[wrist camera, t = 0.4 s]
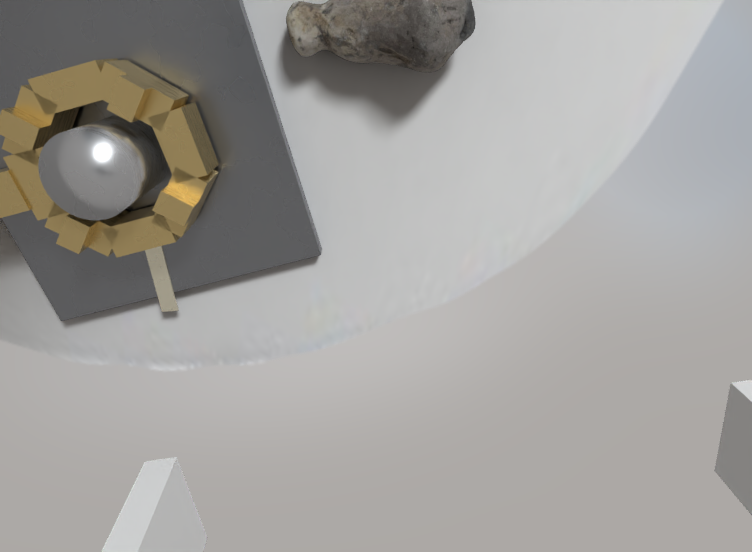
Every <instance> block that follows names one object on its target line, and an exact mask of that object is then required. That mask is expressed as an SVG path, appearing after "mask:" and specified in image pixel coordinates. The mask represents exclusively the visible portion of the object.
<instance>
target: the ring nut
mask: <svg viewBox="0 0 752 552" xmlns="http://www.w3.org/2000/svg"><path fill="white" fill-rule="evenodd" d="M27 80H28V82H29V84H28V85H21V88H20V91H19V95H18V98H17V101H16V104H15V107H10V108H5V109H2V110H1V114H0V135H2V136H4V137H5V139H4V143H3V146H2V149H3V150H6V151H8V152H10V153H12V154H11V155H8V156H5V157H3V159H4V160H5V162H6V164H7V166H8V167H7V168H4V169H0V218H3V217H7V216H10V215H14V214H18V213H21V212H25V211H29V210H31V209H32V211H33V213H34V215H35V217H36V218H37V220H42V219H46V218H48V219H47V222H46V224H45V227H46V228H48V229H50V230H52V231H54V232H57V233H59V237H58V239H57V242H56V244H58V245H60V246H62V247H64V248H66V249H69V250H71V251H73V252H75V253H77V254H80V253H81V252H83V251H84V250H85V249H86V248H88V247H89V248H91V249H93V250H95V251H97V252H99V253H101V254H104V255H106V256H110V255H111V254H112V253H113V252H114V253H115V255H116V257H121V256H125V255H129V254H133V253H136V252H140V251H144V250H148V249H152V248H156V247H159V246H163V245H167V244H171V243H175V242H177V240H178V239H179V238H180V237H183V235H184V234H185V233H186V232H187V231H188V230H189V228H190V227H191V226H192V225H193V224H194V223H195V221H196V219H197V216H198V214H199V212H200V210H201V208H202V206H203V204H204V202H205V200H206V198H207V196H208V193H209V191H210V189H211V187H212V185H213V183H214V181H215V179H216V177H217V175H218V173H219V172H218V171H216V170H214V168H216V167H217V166H218V165H219V163H218V160H217V158H216V155H215V153H214V150H213V147H212V145H211V142H210V139H209V137H208V134H207V132H206V129H205V126H204V124H203V121H202V118H201V116H200V113H199V111H198V108H197V105H196V103H195V102H194V103H190V104H187V105H185V104H186V102H187V99H188V97H189V95H188V94H186V93H184V92H183V91H181V90H179V89H177V88H176V87H174V86H172V85H170V84H168V83H167V82H165V81H163V80H161V79H160V78H158V77H156V76H154V75H153V74H151V73H149V72H147V71H145V70H144V69H142V68H140V67H138V66H137V65H135V64H133V63H131V62H130V61H128V60H118V59H117V58H115V59H102V60H94V61H90V62H87V63H83V64H80V65H76V66H73V67H69V68H66V69H62V70H59V71H55V72H52V73H48V74H45V75H41V76H38V77H34V78H31V79H27ZM103 100H104V101H106V102H107V103H109V104H108V107H107V110H108V111H110V112H112V113H114V114H116V115H118V116H120V117H122V118H123V119H125V120H127V121H129V122H131V123H132V122H135V121H138V120H141V121H143V122H144V123H146V124H148V125H150V126H152V128H153V130H154V132H155V135H156V137H157V139H158V142H159V144H160V147H161V149H162V151H163V154H164V156H165V158H166V161H167V163H168V166H169V168H170V170H171V173H172V177H171V179H170V181H169V183H168V185H167V186H166V187H165V188H164V189H162V190H161V192H160V194H159V196H158V199H157V201H156V203H155V205H154V206H151V207H147V208H143V209H139V210H136V211H132V212H128V211H126V210H123V211H122V212H120V213H119V214H118V215H116V216H114V217H112V218H109V219H105V220H87V219H82V218H79V217H76V216H74V215H71V214H70V213H68V212H66V211H65V210H63V209H62V208H60V207H59V206H58V205H57V204H56V203H55V202H54V201H53V200H52V199H51V198H50V196H49V195H48V194H47V192H46V191H45V189H44V187H43V185H42V183H41V180H40V176H39V171H38V162H39V156H40V153H41V151H42V148H43V147H44V145H45V144H46V143H47V142H48V140H49V139H51V138H52V137H53V136H55V135H57V134H59V133H61V132H64V131H67V130H70V129H72V127H73V124H74V121H75V119H76V116H77V113H78V110H79V108H80V107H82V106H85V105H89V104H93V103H96V102H100V101H103Z"/></svg>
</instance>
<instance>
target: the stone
mask: <svg viewBox="0 0 752 552" xmlns="http://www.w3.org/2000/svg"><path fill="white" fill-rule="evenodd" d="M286 22H287V27H288V31H289V35H290V39H291V42H292V44H293V46H294V48H295V49H296V51H297V52H298V53H299V54H300V55H302V56H304V57H309V56H312V55H314V54H316V53H317V52H319V51H321V50H328V51H331V52H333V53H334V54H336V55H338V56H339V57H341V58H343V59H345V60H348V61H352V62H357V63H384V64H392V65H398V66H402V67H406V68H410V69H413V70H417V71H420V72H434V71H436V70H439V69H440V68H441V67H442V66H443V65H444V63H445V62H446V61H447V59H448V58H449V57H450V56H451V55H452V54H453V53H454V51H455V50H456V49H457V48H458V47H459V46H460V45H461V44H462V42H463V41H465V40H466V39H467V38H468V37H470V36H471V34H472V33H473V31H474V29H475V16H474V10H473V6H472V2H471V0H329V1H328V2H326V3H324V4H312V3H307V2H300V1H298V2H295V3H293V4H292V5H291V7H290V8H289V10H288V13H287V17H286Z"/></svg>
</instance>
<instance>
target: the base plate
mask: <svg viewBox="0 0 752 552" xmlns="http://www.w3.org/2000/svg"><path fill="white" fill-rule="evenodd" d="M115 58H117V59H118V60H128V61H130V62H131V63H133V64H135V65H137V66H138V67H140V68H142V69H144V70H145V71H147V72H149V73H151V74H153V75H154V76H156V77H158V78H160V79H161V80H163V81H165V82H167V83H168V84H170V85H172V86H174V87H176V88H177V89H179V90H181V91H183V92H184V93H186V94H188V95H189V97H188V99H187V102H186V104H185V105H187V104H190V103H194V102H195V103H196V105H197V108H198V111H199V113H200V116H201V118H202V121H203V124H204V126H205V129H206V132H207V134H208V137H209V139H210V142H211V145H212V147H213V150H214V153H215V155H216V158H217V160H218V163H219V165H218V166H217V167H216V168H214V170H216V171H218V172H219V173H218V175H217V177H216V179H215V181H214V183H213V185H212V187H211V189H210V191H209V193H208V196H207V198H206V200H205V202H204V204H203V206H202V208H201V210H200V212H199V214H198V216H197V219H196V221H195V223H194V224H193V225H192V226H191V227H190V228H189V230H188V231H187V232H186V233H185V234H184V235H183V237H180V238H179V239H178V240H177V242H175V243H171V244H167V245H163V246H159V247H156V248H152V249H148V250H144V251H140V252H136V253H133V254H129V255H125V256H121V257H116V255H115V253H114V252H113V253H112V254H111V255H110V256H106V255H104V254H101V253H99V252H97V251H95V250H93V249H91V248H89V247H88V248H86V249H85V250H84V251H83V252H81V253H80V254H77V253H75V252H73V251H71V250H69V249H66V248H64V247H62V246H60V245H58V244H56V242H57V239H58V237H59V233H57V232H54V231H52V230H50V229H48V228H46V227H45V224H46V222H47V219H48V218H46V219H42V220H37V218H36V217H35V215H34V213H33V211H32V209H31V210H29V211H25V212H21V213H18V214H14V215H10V216H7V217H3V218H2V220H3V222H4V223H5V225H6V227H7V228H8V230H9V232H10V234H11V235H12V237H13V239H14V241H15V242H16V244H17V246H18V247H19V249H20V251H21V253H22V254H23V256H24V258H25V260H26V261H27V263H28V265H29V266H30V268H31V270H32V272H33V273H34V275H35V277H36V278H37V280H38V282H39V284H40V285H41V287H42V289H43V291H44V292H45V294H46V296H47V297H48V299H49V301H50V303H51V304H52V306H53V308H54V309H55V311H56V313H57V315H58V316H59V318H60V320H61V321H64V320H68V319H71V318H75V317H79V316H83V315H87V314H91V313H95V312H99V311H103V310H107V309H111V308H115V307H119V306H123V305H126V304H130V303H134V302H138V301H142V300H146V299H150V298H154V297H158V300H159V303H160V307H161V310H162V312H167V311H178V306H177V302H176V298H175V294H174V292H177V291H181V290H185V289H189V288H193V287H197V286H201V285H205V284H209V283H213V282H217V281H221V280H225V279H228V278H232V277H236V276H240V275H244V274H248V273H252V272H256V271H260V270H264V269H268V268H272V267H276V266H279V265H283V264H287V263H291V262H295V261H299V260H303V259H307V258H311V257H315V256H319V255H321V252H322V248H321V245H320V241H319V238H318V235H317V232H316V229H315V226H314V223H313V220H312V216H311V213H310V210H309V207H308V204H307V201H306V198H305V195H304V191H303V188H302V185H301V182H300V179H299V176H298V173H297V170H296V167H295V163H294V160H293V157H292V154H291V151H290V148H289V145H288V142H287V138H286V135H285V132H284V129H283V126H282V123H281V120H280V117H279V114H278V110H277V107H276V104H275V101H274V98H273V95H272V92H271V89H270V85H269V82H268V79H267V76H266V73H265V70H264V67H263V64H262V60H261V57H260V54H259V51H258V48H257V45H256V42H255V39H254V36H253V32H252V29H251V26H250V23H249V20H248V17H247V14H246V11H245V7H244V4H243V1H242V0H1V1H0V114H1V110H2V109H5V108H10V107H15V104H16V101H17V98H18V95H19V91H20V88H21V85H28V84H29V82H28V80H27V79H31V78H34V77H38V76H41V75H45V74H48V73H52V72H55V71H59V70H62V69H66V68H69V67H73V66H76V65H80V64H83V63H87V62H90V61H94V60H102V59H115ZM108 104H109V103H107V102H106V101H104V100H103V101H100V102H96V103H93V104H89V105H85V106H82V107H80V108H79V110H78V113H77V116H76V119H75V121H74V124H73V127H72V129H70V130H67V131H64V132H61V133H59V134H57V135H55V136H53V137H52V138H51V139H49V140H48V142H47V143H46V144H45V145H44V147H43V148H42V151H41V153H40V156H39V162H38V171H39V176H40V180H41V183H42V185H43V187H44V189H45V191H46V192H47V194H48V195H49V196H50V198H51V199H52V200H53V201H54V202H55V203H56V204H57V205H58V206H59V207H60V208H62V209H63V210H65V211H66V212H68V213H70V214H71V215H74V216H76V217H79V218H82V219H87V220H105V219H109V218H112V217H114V216H116V215H118V214H119V213H120V212H122V211H123V210H126V211H128V212H132V211H136V210H139V209H143V208H147V207H151V206H154V205H155V203H156V201H157V199H158V196H159V194H160V192H161V190H162V189H164V188H165V187H166V186H167V185H168V183H169V181H170V179H171V177H172V173H171V170H170V168H169V166H168V163H167V161H166V158H165V156H164V154H163V151H162V149H161V147H160V144H159V142H158V139H157V137H156V135H155V132H154V130H153V128H152V126H150V125H148V124H146V123H144V122H143V121H141V120H138V121H135V122H132V123H131V122H129V121H127V120H125V119H123V118H122V117H120V116H118V115H116V114H114V113H112V112H110V111H108V110H107V107H108ZM4 139H5V137H4V136H2V135H0V169H4V168H7V167H8V166H7V164H6V162H5V160H4V159H3V157H5V156H8V155H11V154H12V153H10V152H8V151H6V150H3V149H2V146H3V143H4Z"/></svg>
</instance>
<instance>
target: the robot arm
mask: <svg viewBox="0 0 752 552" xmlns="http://www.w3.org/2000/svg"><path fill="white" fill-rule="evenodd" d="M715 472H716V473H717V474H718V476H719V477H720V478H721V479H722V480H723V482H725V484H726V485H727V486H728V487H729V489H730V490H731V491H732V492H733V493H734V495H735V496H736V497H737V498H738V499H739V501H740V502H741V503H742V504H743V505H744V506H745V508H746V509H747V510H748V511H749V513H750V514H751V515H752V380H748V381H740V382H733V383H731V384H730V390H729V395H728V401H727V407H726V412H725V417H724V422H723V428H722V433H721V439H720V445H719V450H718V455H717V460H716V466H715ZM206 541H207V535H206V532H205V530H204V527H203V525H202V522H201V520H200V517H199V514H198V512H197V509H196V506H195V504H194V501H193V499H192V496H191V493H190V490H189V488H188V485H187V483H186V480H185V477H184V475H183V472H182V470H181V467H180V464H179V462H178V459H177V457H175V458H167V459H160V460H152V461H145V463H144V465H143V467H142V469H141V471H140V473H139V475H138V477H137V479H136V481H135V483H134V485H133V487H132V489H131V491H130V494H129V496H128V498H127V500H126V502H125V504H124V506H123V508H122V510H121V512H120V514H119V516H118V518H117V520H116V523H115V525H114V527H113V529H112V531H111V533H110V535H109V537H108V539H107V541H106V543H105V545H104V547H103V549H102V551H101V552H204V548H205V545H206Z"/></svg>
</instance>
